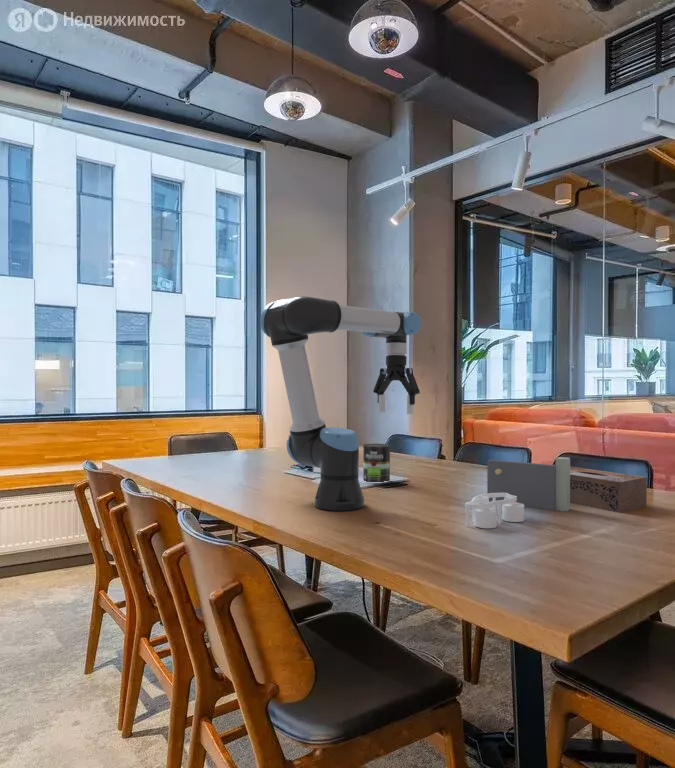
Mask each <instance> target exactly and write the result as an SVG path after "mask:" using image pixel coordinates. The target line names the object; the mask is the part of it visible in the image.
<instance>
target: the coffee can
mask: <svg viewBox="0 0 675 768" xmlns="http://www.w3.org/2000/svg"><path fill="white" fill-rule="evenodd" d="M362 447H363V448H362V449H363V459H362V460H363V463H362V464H363V465H362V466H363V468H362V470H363V471H362V473H363V475H362V479H363V480H364V481H366V482H384V481H389V480H390V481H391V478H390V477H391V445H390V444H387V443H365V444H363V445H362ZM363 480H362V481H363Z"/></svg>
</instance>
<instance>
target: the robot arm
mask: <svg viewBox="0 0 675 768" xmlns="http://www.w3.org/2000/svg"><path fill="white" fill-rule="evenodd" d="M259 320H260V321H259V322H260V327H261V330H262V332H263V333H264V335H266V336H267V337H268V338H270V343H271V346H272V347H273V348H275V349H276V351H278V357H279V362H280V365H281V366H280V367H281V371H282V377H283V381H284V387H285V390H286V395H287V400H288V405H289V409H290V414H291V419H292V424H291V426H290V427H289V433H290V434H289V435H288V439H287V440H286V451H287V453H288V455H289V457H290V459H291V460H292V461H293V462H295V463H297V464H300V465H302V466H305V467H314V468H319V469H320V481H319V484H318V487H317V489H316V494H315V497H314V506H315V508H316V509H320V510H325V511H332V512H333V511H337V512H339V511H342V512H343V511H353V510H355V511H356V510H359V509H362V508H364V506H365V497H364V495H363V491H362V487H361V484H360V481H359V468H360V467H359V463H360V462H359V461H360V459H359V457H360V455H359V453H360V452H359V451H360V443H359V435H358V434H357V432H356V431H354V430H353V429H349V428H343V427H334V426H329V427H327V425H326V421H325V420H324V419H322V418H320V415H319V409H318V405H317V400H316V395H315V389H314V385H313V379H312V374H311V370H310V364H309V360H308V355H307V350H306V343H307V341H308V340H309V336H308V335H312V334H320V333H335V332H336V331H348V332H359V333H360V332H361V334H362V335H363V336H365V337H369V338H382V339H383V338H384V339H385V354H386V356H385V364H386V368H385V367H384V368H380V369H379V374H378V377H377V380H376V382H375V385H374V388H373V394H376V396H377V404H378V413H386V394H385V392H386V391H387V389H388V387H389V386H390V384H391V383H392V382H393V381H399V382H401V384H402V385H403V387H404V389H405V390H406V392H407V396H406V414H407V415H414V405H415V403H416V396H417V395H419V394H420V393H421V392H420V389H419V385H418V383H417V381H416V378H415V375H414V370H413V368H412V367H406V366H407V361H408V360H407V359H408V358H407V349H408V348H407V343H408V342H407V341H408V340H407V336H411V335H415V334H418V332H419V331H420V330H421V326H422V321H421V317H420V315H419V314H418V313H417V312H414V311H405V312H401V311H390V310H384V309H383V310H382V309H375V308H367V307H360V306H351V305H343V304H339V303H338V301H336V300H330V299H329V300H328V299H323V298H318V297H314V296H313V297H311V296H304V295H303V296H302V295H301V296H296V297H291V298H290V297H289V298H284V299H277V300H275V301H272V302H270V303H268V304H267V305H266V306H265V307H264V308H263V310H262V312H261V315H260V319H259Z"/></svg>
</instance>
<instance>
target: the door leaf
mask: <svg viewBox="0 0 675 768" xmlns="http://www.w3.org/2000/svg"><path fill="white" fill-rule="evenodd" d="M486 463H487V465H486V466H487V469H486V470H487V475H486V478H487V481H486V482H487V483H486V487H487V488H486V489H487V491H486V494H488V493H508V494H510V495H514V496H517V501H515V502H518V503H521V504H524V508H532V509H540V510H549V511H557V510H560V511H559V512H564V511H567V512H568V511H570V510H571V503H570V466H571V457H565V456H559V457H557V458H555V464H549V463H548V464H546V463H536V462H523V461H511V460H499V459H488V460H487V461H486ZM507 499H508V498H507ZM498 500H504V497H496V501H498ZM491 501H493V497H492V498H489V502H491ZM569 509H570V510H569Z"/></svg>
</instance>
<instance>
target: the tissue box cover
mask: <svg viewBox="0 0 675 768" xmlns="http://www.w3.org/2000/svg"><path fill="white" fill-rule="evenodd" d="M647 480H648V479H647V476H642V475H641V476H640V475H634V474H633V475H632V474H626V473H619V472H614V471H613V472H612V471H605V470H597V469H590V468H584V467H579V466H578V467H576V466H571V465H570V504H572V505H574V504H575V505H577V506H578V505H579V506H584V507H588V506H589V508H592V509H593V508H594V509H599V510H605V511H609V512H615V513H620V514H621V513H624V512H628V511H632V510H636V509H641V508H645V507H647V506H648V505H647V502H648V501H647V497H648V496H647V489H648V487H647V485H648V484H647Z"/></svg>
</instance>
